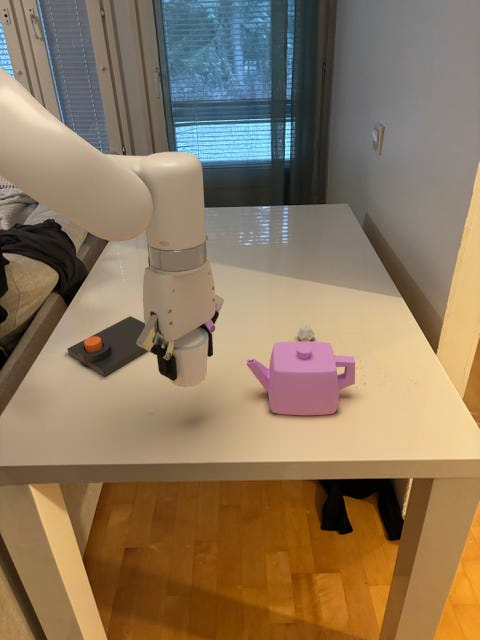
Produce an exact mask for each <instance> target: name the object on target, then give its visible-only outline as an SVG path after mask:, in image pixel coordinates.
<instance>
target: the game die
mask: <svg viewBox="0 0 480 640" xmlns="http://www.w3.org/2000/svg"><path fill="white" fill-rule="evenodd" d="M296 333H297V337H298V338H299V341H308V342H311V340H312V339H313V338H314V336H315V332H314V330H313V328H312V326H311V325H310V324H302V325H301V327H300V328H299V329H298V331H297V332H296Z"/></svg>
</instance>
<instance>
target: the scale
mask: <svg viewBox="0 0 480 640" xmlns="http://www.w3.org/2000/svg"><path fill="white" fill-rule="evenodd" d="M144 328H145V322H144V321H142V320H140V319H137V318H135V317H133V316H131V315H129V316H128V317H125V318H124V319H122V320H120V321H118V322H116V323H114V324H112V325H110V326H108V327H106V328H105V329H102V330H100V331H98V332H97V333H94V334H93V335H90V337H93V336H97V337H100V338H101V341H102V346H103V347H102V349H101V350H99V351H96V352H87V351H86V349H85V345H84V341H85V340H86V339H87V338H85V339H83V340H81V341H79V342H77V343H75V344H74V345H71V346H69V347H67V353H68V355H69V356H71V357H72V358H74V359H76V360H77V361H79V362H80V363H82V364H83V365H85V366H87V367H88V368H90V369H91V370H93V371H95V372H96V373H98V374H100V375H101V376H103V377H107V376H108V375H110V374H112V373H114V372H115V371H117V370H119V369H120V368H122V367H124V366H126V365H127V364H129V363H130V362H132V361H134V360H135V359H138V358H139V357H140V356H141V355H144V354H145V353H147V352H148V351H147V350H146V349H144V348H142V347H140V346H139V345H137V343H136V342H137V339H138V338H139V336H140V334H141V333H142V331H143V329H144ZM155 336H156V334H155ZM155 336H154V338H153V340H152V342H153V343H154V340H155Z"/></svg>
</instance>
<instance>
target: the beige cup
mask: <svg viewBox="0 0 480 640" xmlns="http://www.w3.org/2000/svg"><path fill="white" fill-rule="evenodd" d="M208 338H209V337H208V333H207V332H206V331H205V330H204V329H203V328H200V327H197V328H196V329H194V330H192V331H190V332H189V333H187V334H185V335H183V336H182V337H180V338H178V339H176V341H175V345H174V349H173V352H172V355H173V356H174V357H175V358H176V368H177V379H176V380H174V381H172V380H171V379H169V381H170V382H171V383H172V384H173V385H175V386H178V387H182V388H190V387H194V386H197V385H200V384H201V383H202V382H204V381H205V380H206V377H207V374H208V373H207V371H208ZM165 345H166V341H165V340H163V344H162V348H164V349H165Z"/></svg>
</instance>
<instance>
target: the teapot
mask: <svg viewBox="0 0 480 640" xmlns="http://www.w3.org/2000/svg"><path fill="white" fill-rule="evenodd" d="M246 366H247V368H248V369H249V370H250V371H251V373H252V374H253V375H254V377H255V378H256V379H257V381H258V382H259V384H260V385H261V386H262V387H263V389H265V391H266V392H267V394H268V401H269V402H268V404H269V407H270V411H271V412H272V413H274V414H279V415H288V416H289V415H290V416H325V415H333V414H335V413H336V411H337V410H338V407H339V401H340V390H343V389H345V388H348V387H350V386H353V385H355V384H356V360H355V357H354V355H335V353H334V349H333V346H332V344H331V343H330V342H324V341H309V342H308V341H301V340H299V341H295V340H293V341H277V342H274V344H273V346H272V350H271V354H270V359H269V366H268V367H266V366H265V365H264V364H262V363H261V362H259V361H258V360H257V359H256V358H250V359H246ZM338 368H344V371H343V372H342V373H340V374H338Z"/></svg>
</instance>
